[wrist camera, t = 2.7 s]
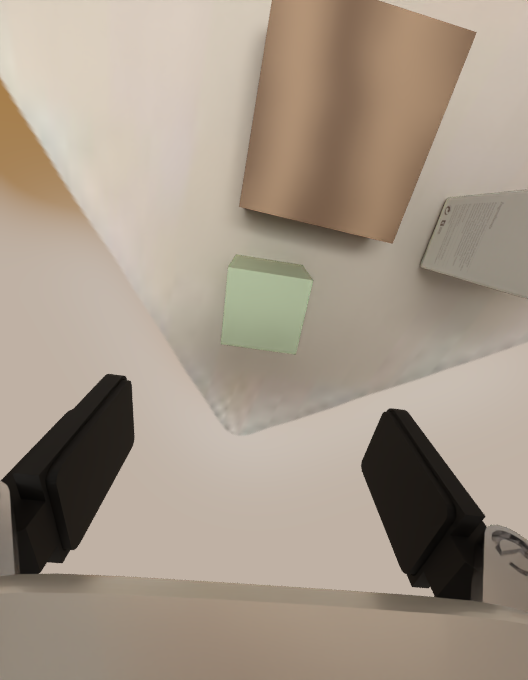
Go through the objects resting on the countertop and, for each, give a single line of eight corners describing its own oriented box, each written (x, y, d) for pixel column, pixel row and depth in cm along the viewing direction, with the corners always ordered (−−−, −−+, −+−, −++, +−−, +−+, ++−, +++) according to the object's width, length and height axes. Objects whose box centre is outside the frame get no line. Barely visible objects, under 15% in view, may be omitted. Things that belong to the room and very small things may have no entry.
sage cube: (302, 265, 25) (313, 280, 19) (289, 325, 27) (295, 354, 22) (236, 254, 24) (228, 267, 19) (229, 317, 27) (220, 344, 21)
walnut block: (426, 74, 19) (476, 32, 15) (368, 237, 24) (392, 243, 19) (273, 28, 18) (277, -33, 14) (244, 207, 23) (239, 206, 18)
